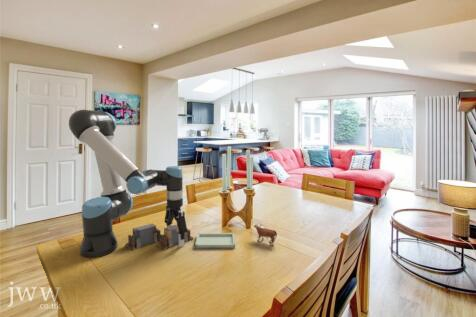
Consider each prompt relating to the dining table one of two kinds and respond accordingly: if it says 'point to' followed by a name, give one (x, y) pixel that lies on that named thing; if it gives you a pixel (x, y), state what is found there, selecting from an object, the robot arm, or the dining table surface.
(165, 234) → the block
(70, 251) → the dining table surface
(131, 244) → the holder
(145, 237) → the fuse
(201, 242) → the tray
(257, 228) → the bull figurine
